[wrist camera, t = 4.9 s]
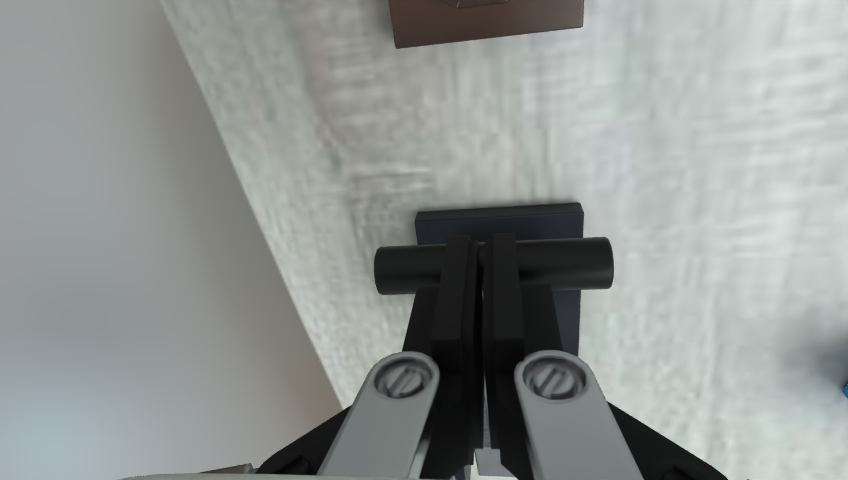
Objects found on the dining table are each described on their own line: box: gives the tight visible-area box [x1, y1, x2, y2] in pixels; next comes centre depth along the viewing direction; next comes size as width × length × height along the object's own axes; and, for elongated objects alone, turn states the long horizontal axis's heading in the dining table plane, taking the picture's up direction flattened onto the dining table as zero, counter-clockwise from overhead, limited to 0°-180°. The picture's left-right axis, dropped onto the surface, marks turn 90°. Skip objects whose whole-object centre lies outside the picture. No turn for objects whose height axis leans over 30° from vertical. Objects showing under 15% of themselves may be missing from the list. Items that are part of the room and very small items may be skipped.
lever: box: [374, 237, 614, 477], centre depth 16 cm, size 12×6×2 cm, turn 7°
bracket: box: [415, 203, 584, 480], centre depth 23 cm, size 10×9×13 cm
